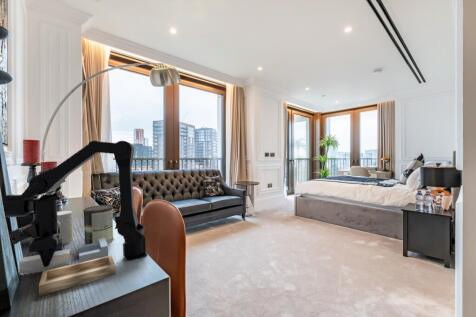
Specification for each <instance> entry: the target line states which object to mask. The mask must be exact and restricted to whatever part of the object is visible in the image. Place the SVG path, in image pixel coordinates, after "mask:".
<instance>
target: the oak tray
mask: <svg viewBox="0 0 476 317" xmlns="http://www.w3.org/2000/svg"><path fill="white" fill-rule="evenodd" d="M116 272H117V271H116V263H115V260H114V258H113V256H112V254H111V255H108V256H106V257H102V258H98V259H93V260H89V261H85V262H81V263H79V262H77V263H73V264H70V265H68V266H64V267H60V268H55V269H50V270H46V271H42V273H41V277H40V280H39V284H38V297H41V296H45V295H48V294H52V293H55V292H58V291H62V290H65V289H68V288H73V287H76V286H80V285H83V284H86V283H91V282H93V281H96V280H101V279H104V278H108V277H111V276H115V275H116V274H117V273H116Z"/></svg>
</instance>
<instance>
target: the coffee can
mask: <svg viewBox="0 0 476 317" xmlns="http://www.w3.org/2000/svg"><path fill="white" fill-rule="evenodd" d="M113 208H114V207H113V205H110V204H102V205H101V204H99V205H93V206H88V207H85V208H83V210H82V212H83V228H84V231H83V232H84V233H83V234H84V245H87V244H92V243H97V242H99V240H98V239H99V238H104V237H105V239H106V242H107V244H109V243H112V242H113V241H114V222H113V221H114V220H113V219H114V218H113Z"/></svg>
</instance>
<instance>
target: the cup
mask: <svg viewBox="0 0 476 317" xmlns="http://www.w3.org/2000/svg"><path fill="white" fill-rule="evenodd" d="M57 215H58V219H57V221H58V222H60V224H61V226H60V233H59V234H58V233H57V235H59V239H62V246H63V245H66V244H70V243H71V242H73V240H74V236H73V235H74V234H73V233H74V232H73V211H71V210H61V211H57ZM59 239H58V240H59Z"/></svg>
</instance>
